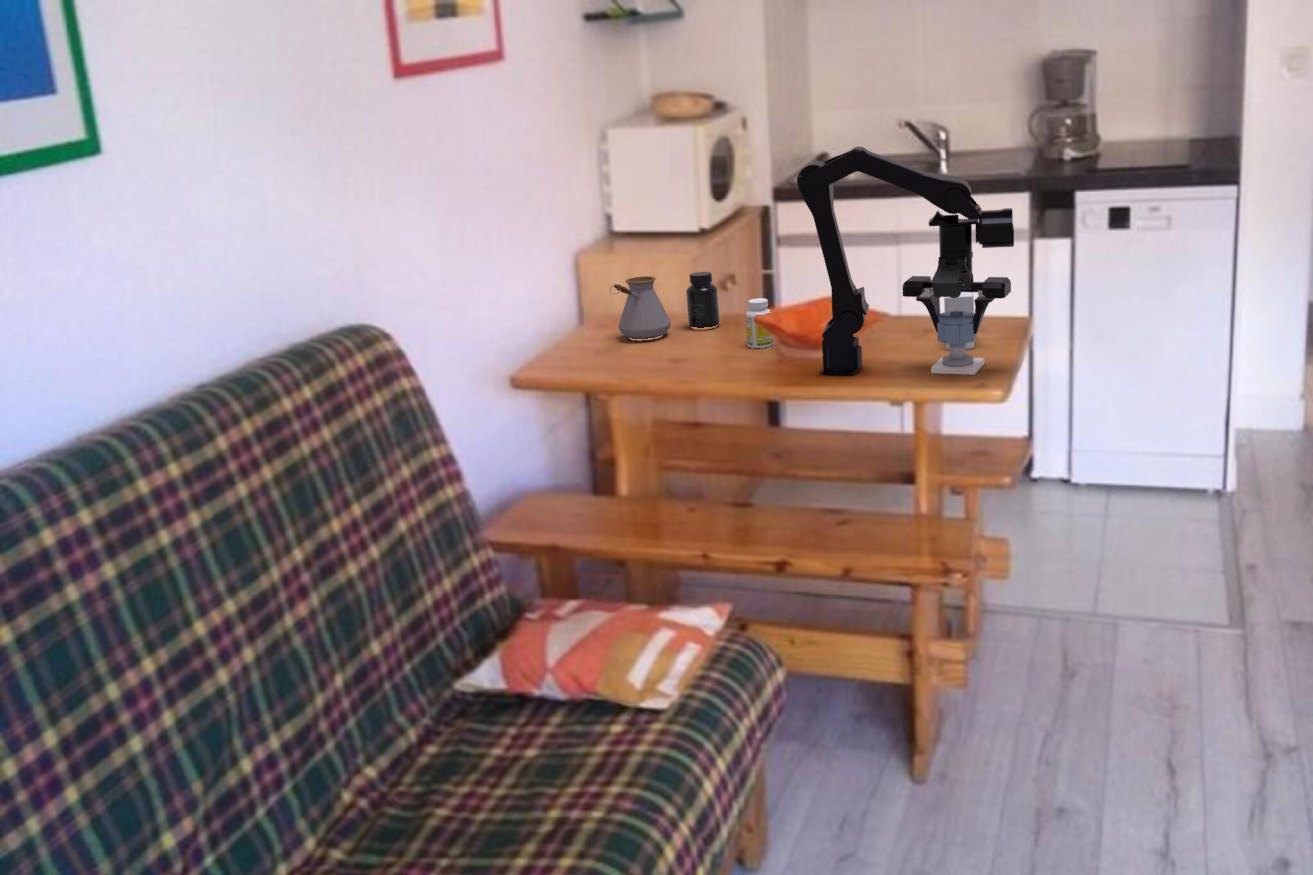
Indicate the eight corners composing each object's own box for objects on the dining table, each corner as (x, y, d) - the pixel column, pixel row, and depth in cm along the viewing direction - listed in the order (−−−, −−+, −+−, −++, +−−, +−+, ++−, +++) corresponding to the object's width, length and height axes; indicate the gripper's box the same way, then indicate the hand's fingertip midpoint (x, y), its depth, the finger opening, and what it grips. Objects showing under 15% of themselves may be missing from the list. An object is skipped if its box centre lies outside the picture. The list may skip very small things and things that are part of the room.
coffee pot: (630, 330, 307) (624, 264, 302) (679, 330, 303) (673, 263, 298) (594, 355, 288) (587, 285, 283) (646, 356, 284) (639, 284, 279)
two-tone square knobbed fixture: (931, 373, 253) (930, 346, 252) (942, 361, 260) (941, 336, 259) (974, 374, 250) (973, 348, 248) (984, 363, 256) (984, 337, 255)
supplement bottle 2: (743, 348, 283) (740, 302, 280) (754, 342, 287) (751, 297, 284) (766, 349, 280) (764, 303, 277) (777, 343, 285) (775, 297, 282)
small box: (974, 349, 267) (973, 296, 264) (945, 350, 268) (944, 297, 265) (973, 339, 274) (973, 287, 271) (945, 340, 275) (944, 288, 272)
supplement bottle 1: (704, 322, 308) (700, 269, 305) (726, 325, 304) (722, 272, 300) (682, 328, 304) (678, 275, 300) (705, 332, 299) (700, 278, 296)
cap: (934, 343, 252) (934, 315, 250) (944, 334, 257) (943, 307, 256) (970, 344, 249) (970, 316, 247) (979, 335, 254) (978, 308, 253)
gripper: (892, 257, 245) (895, 342, 250) (997, 258, 237) (998, 345, 242) (910, 245, 255) (912, 327, 260) (1011, 245, 247) (1011, 330, 251)
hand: (957, 332), depth 253 cm, fingers closed on cap, 7 cm apart
